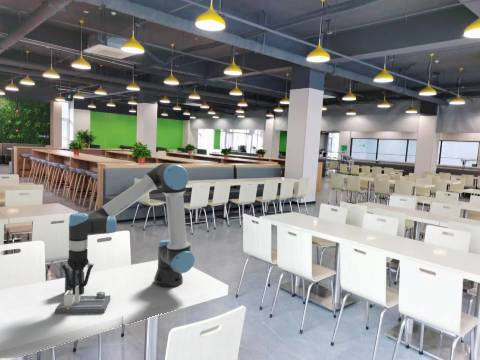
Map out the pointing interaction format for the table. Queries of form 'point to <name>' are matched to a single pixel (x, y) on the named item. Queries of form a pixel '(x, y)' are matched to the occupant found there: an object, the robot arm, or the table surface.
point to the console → (85, 305)
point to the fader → (69, 298)
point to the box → (72, 281)
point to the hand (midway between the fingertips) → (77, 301)
